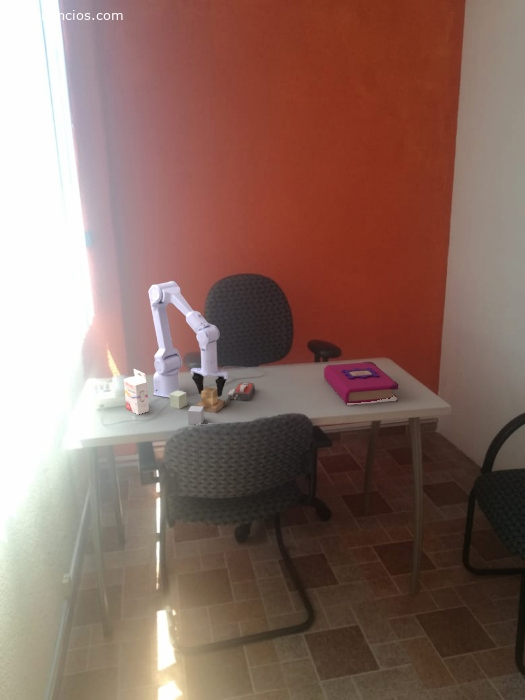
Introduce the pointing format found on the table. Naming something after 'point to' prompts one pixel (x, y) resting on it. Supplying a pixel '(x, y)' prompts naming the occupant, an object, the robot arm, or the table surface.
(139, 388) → the ink cartridge box
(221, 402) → the tan flat block
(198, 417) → the slate block
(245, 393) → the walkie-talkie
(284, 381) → the table surface
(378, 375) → the book
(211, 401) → the oak block
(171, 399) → the sage block
